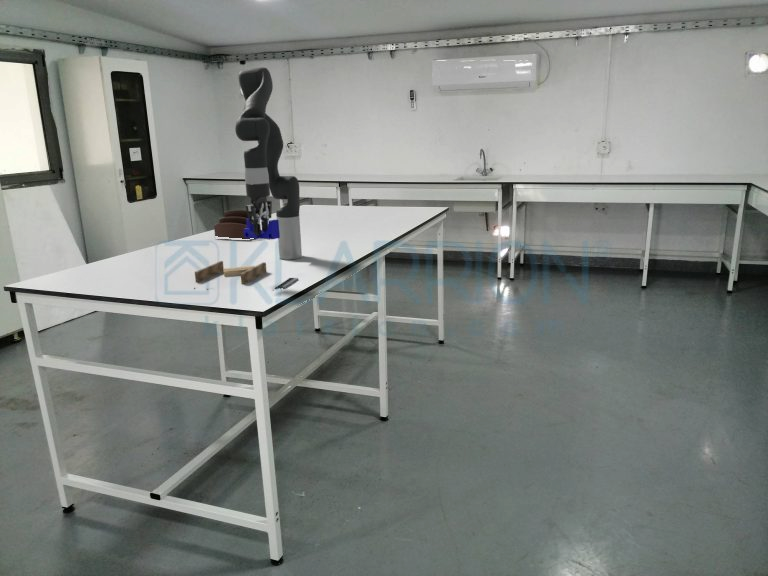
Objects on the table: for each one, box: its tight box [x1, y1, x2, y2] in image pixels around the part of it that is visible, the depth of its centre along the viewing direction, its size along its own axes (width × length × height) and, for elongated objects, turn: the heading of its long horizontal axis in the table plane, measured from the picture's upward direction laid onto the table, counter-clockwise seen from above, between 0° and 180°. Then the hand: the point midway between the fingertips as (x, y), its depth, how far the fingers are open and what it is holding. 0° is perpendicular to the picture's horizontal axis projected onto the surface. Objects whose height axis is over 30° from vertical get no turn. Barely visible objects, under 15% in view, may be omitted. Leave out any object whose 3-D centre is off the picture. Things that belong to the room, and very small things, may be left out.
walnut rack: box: [194, 260, 268, 285], centre depth 193 cm, size 17×18×5 cm
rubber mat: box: [275, 277, 299, 289], centre depth 189 cm, size 12×11×1 cm
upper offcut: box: [222, 265, 256, 277], centre depth 198 cm, size 5×11×2 cm, turn 108°
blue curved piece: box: [243, 218, 280, 240], centre depth 184 cm, size 12×4×6 cm, turn 57°
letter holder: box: [213, 209, 252, 239], centre depth 277 cm, size 10×20×14 cm, turn 69°
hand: (261, 233), depth 185 cm, fingers closed on blue curved piece, 5 cm apart
